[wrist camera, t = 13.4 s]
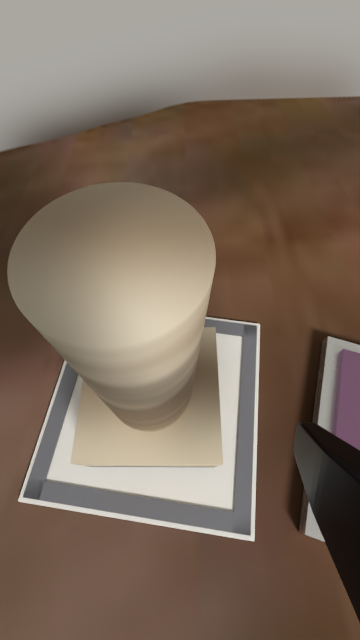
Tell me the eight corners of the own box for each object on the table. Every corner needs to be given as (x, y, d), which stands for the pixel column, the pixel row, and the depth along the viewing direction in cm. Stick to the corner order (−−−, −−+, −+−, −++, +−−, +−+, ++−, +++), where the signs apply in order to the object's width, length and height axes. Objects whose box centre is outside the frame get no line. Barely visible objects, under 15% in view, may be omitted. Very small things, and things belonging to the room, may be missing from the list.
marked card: (253, 540, 14) (254, 541, 14) (19, 501, 15) (16, 501, 14) (259, 325, 19) (260, 323, 19) (85, 302, 20) (83, 300, 19)
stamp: (213, 467, 15) (318, 432, 4) (91, 466, 15) (-141, 430, 4) (208, 353, 18) (263, 147, 7) (105, 352, 18) (-10, 142, 7)
